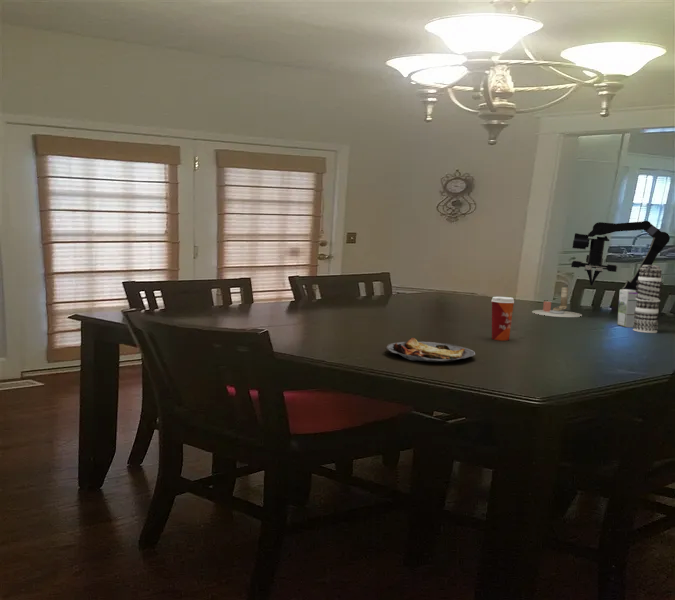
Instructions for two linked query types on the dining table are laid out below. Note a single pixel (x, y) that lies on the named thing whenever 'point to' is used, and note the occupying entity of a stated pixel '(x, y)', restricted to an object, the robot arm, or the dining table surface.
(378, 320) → the dining table surface
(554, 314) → the dial plate
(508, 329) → the paper cup
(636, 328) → the decorative candle
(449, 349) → the food plate
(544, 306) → the stop block
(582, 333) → the dining table surface
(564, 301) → the crank
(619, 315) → the syrup box
